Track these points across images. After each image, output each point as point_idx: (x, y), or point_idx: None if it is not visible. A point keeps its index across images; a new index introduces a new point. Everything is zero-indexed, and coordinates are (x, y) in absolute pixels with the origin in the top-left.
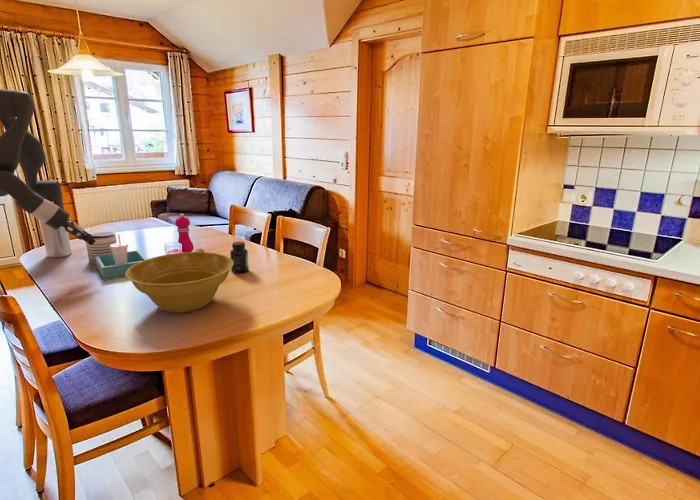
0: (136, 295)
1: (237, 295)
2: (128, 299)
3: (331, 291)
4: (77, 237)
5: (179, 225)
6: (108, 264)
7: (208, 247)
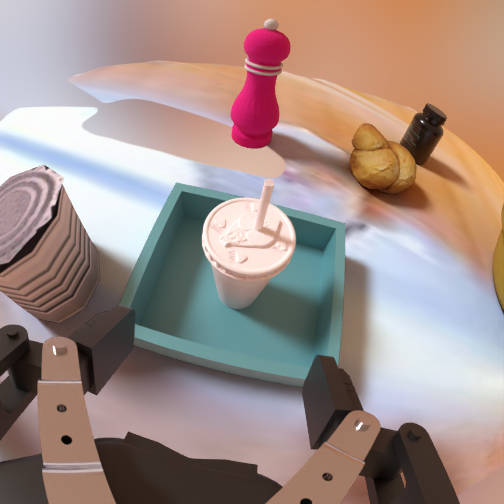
0: (468, 346)
1: (496, 226)
2: (477, 366)
3: (492, 169)
4: (397, 489)
5: (281, 56)
6: (147, 304)
7: (215, 93)
